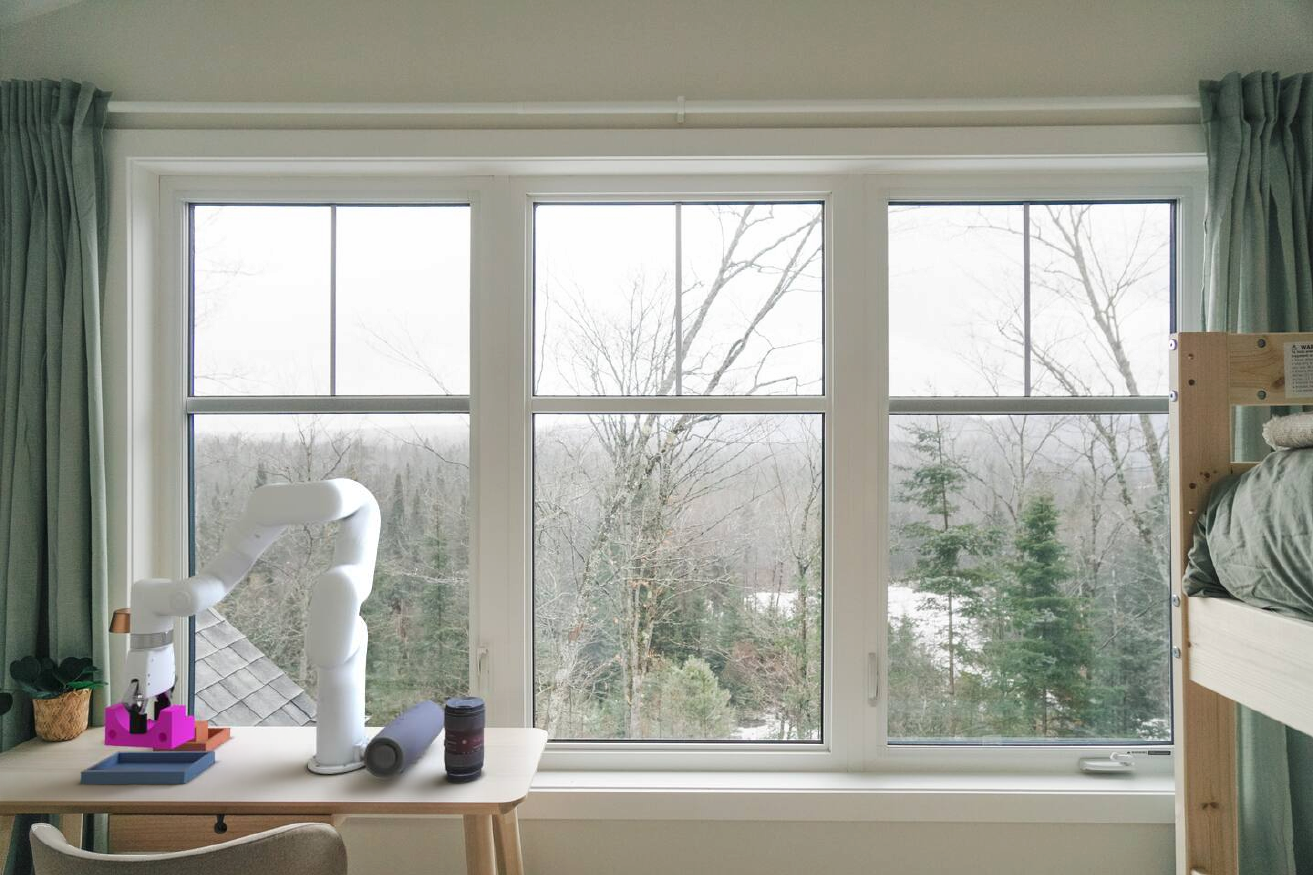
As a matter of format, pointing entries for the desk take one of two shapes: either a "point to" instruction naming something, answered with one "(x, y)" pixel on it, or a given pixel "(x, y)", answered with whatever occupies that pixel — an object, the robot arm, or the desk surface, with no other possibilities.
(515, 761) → the desk surface
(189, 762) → the blue tray
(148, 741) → the toy block
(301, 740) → the desk surface
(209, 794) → the desk surface
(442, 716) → the bluetooth speaker
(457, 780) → the camera lens
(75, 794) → the desk surface
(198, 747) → the terracotta tray
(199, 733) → the terracotta cube
